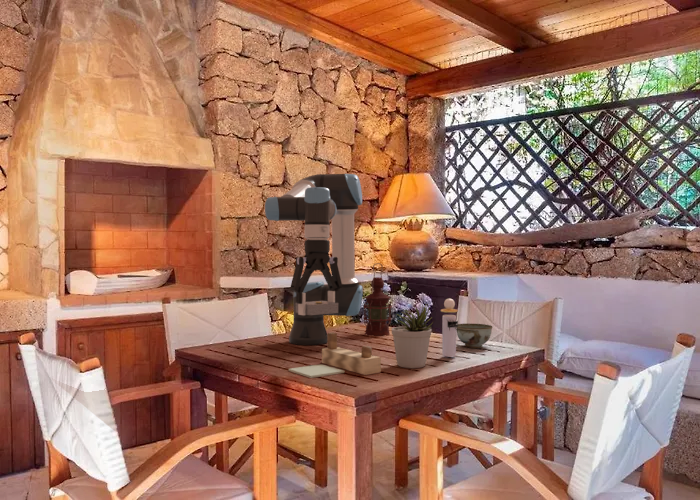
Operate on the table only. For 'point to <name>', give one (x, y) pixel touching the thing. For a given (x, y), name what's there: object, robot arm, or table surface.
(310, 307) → the grey block with knob
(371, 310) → the lantern
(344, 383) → the table surface
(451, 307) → the perfume bottle
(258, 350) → the table surface
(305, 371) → the felt pad
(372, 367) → the body
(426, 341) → the potted plant
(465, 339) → the bowl
